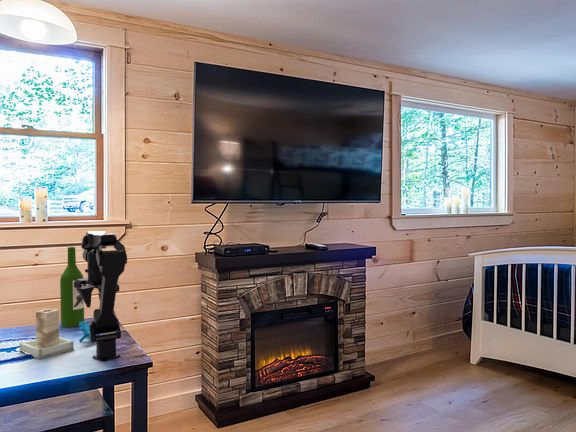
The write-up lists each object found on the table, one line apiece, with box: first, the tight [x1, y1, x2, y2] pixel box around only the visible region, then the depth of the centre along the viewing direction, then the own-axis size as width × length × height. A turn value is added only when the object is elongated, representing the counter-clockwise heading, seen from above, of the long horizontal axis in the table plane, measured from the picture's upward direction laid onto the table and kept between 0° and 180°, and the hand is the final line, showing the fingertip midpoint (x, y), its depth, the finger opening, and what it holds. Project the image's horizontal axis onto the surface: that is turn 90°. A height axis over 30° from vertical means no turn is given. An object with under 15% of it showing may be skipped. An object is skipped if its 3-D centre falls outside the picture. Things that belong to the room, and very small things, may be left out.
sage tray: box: [19, 336, 74, 360], centre depth 164 cm, size 13×12×3 cm
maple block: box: [35, 308, 60, 349], centre depth 164 cm, size 5×5×13 cm
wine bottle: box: [59, 246, 85, 328], centre depth 197 cm, size 9×9×32 cm
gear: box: [77, 320, 101, 343], centre depth 175 cm, size 11×6×10 cm
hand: (96, 309), depth 170 cm, fingers open, 9 cm apart
